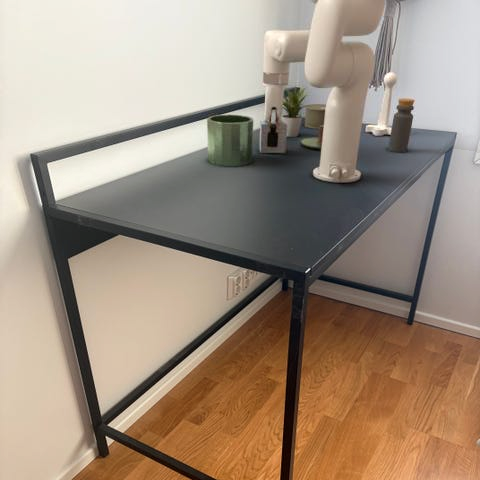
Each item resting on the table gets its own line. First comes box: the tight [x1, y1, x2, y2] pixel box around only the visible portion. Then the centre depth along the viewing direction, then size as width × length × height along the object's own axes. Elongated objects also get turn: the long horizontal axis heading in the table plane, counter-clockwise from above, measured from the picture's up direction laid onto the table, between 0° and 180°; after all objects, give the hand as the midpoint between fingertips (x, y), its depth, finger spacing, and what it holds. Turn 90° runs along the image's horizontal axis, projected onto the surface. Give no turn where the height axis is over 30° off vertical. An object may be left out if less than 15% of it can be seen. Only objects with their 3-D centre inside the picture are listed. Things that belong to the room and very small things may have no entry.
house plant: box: [281, 85, 309, 138], centre depth 170 cm, size 14×14×16 cm
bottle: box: [387, 98, 415, 153], centre depth 153 cm, size 6×6×15 cm
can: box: [304, 103, 326, 130], centre depth 185 cm, size 12×12×7 cm
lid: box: [300, 125, 324, 150], centre depth 159 cm, size 14×14×6 cm
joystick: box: [365, 71, 398, 137], centre depth 171 cm, size 11×8×20 cm
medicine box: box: [259, 120, 287, 154], centre depth 150 cm, size 8×4×9 cm, turn 92°
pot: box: [206, 114, 254, 167], centre depth 140 cm, size 13×13×12 cm
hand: (272, 143), depth 152 cm, fingers closed on medicine box, 4 cm apart
